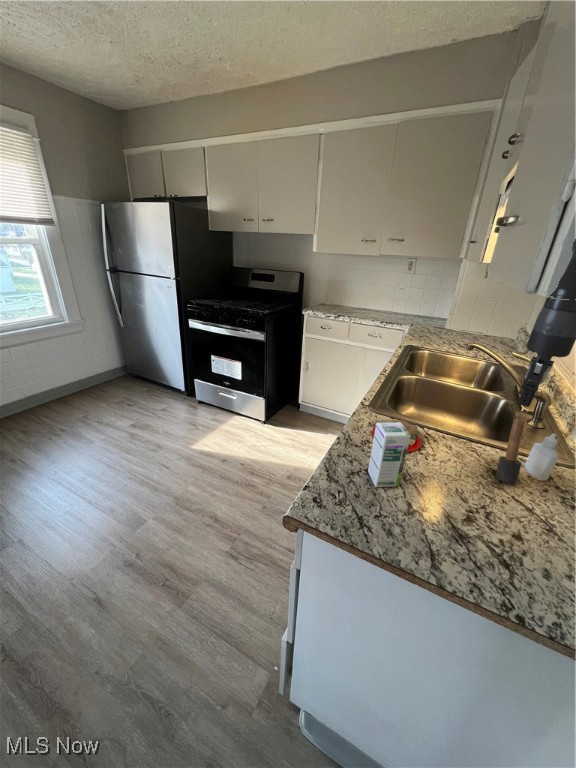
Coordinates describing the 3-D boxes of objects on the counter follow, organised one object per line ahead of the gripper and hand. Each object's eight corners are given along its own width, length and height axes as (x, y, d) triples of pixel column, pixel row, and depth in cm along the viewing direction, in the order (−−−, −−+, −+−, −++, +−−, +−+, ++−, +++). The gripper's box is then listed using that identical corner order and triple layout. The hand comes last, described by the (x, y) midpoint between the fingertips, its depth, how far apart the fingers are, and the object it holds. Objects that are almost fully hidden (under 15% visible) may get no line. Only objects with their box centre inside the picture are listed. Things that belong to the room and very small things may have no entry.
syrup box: (375, 488, 72) (386, 436, 66) (367, 470, 78) (376, 421, 71) (398, 487, 73) (412, 435, 67) (389, 469, 78) (400, 420, 72)
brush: (512, 477, 77) (525, 419, 75) (520, 485, 73) (535, 423, 71) (492, 474, 78) (505, 416, 76) (499, 481, 74) (513, 419, 72)
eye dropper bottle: (526, 477, 78) (545, 437, 72) (522, 464, 82) (540, 426, 77) (547, 483, 76) (569, 443, 71) (542, 470, 81) (562, 431, 75)
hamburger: (378, 419, 100) (382, 403, 97) (425, 433, 93) (430, 416, 91) (365, 441, 88) (368, 424, 86) (417, 459, 82) (422, 440, 80)
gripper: (576, 341, 58) (542, 416, 65) (580, 328, 68) (550, 395, 75) (527, 332, 63) (500, 403, 70) (538, 321, 72) (513, 384, 79)
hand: (526, 399), depth 72 cm, fingers open, 8 cm apart
